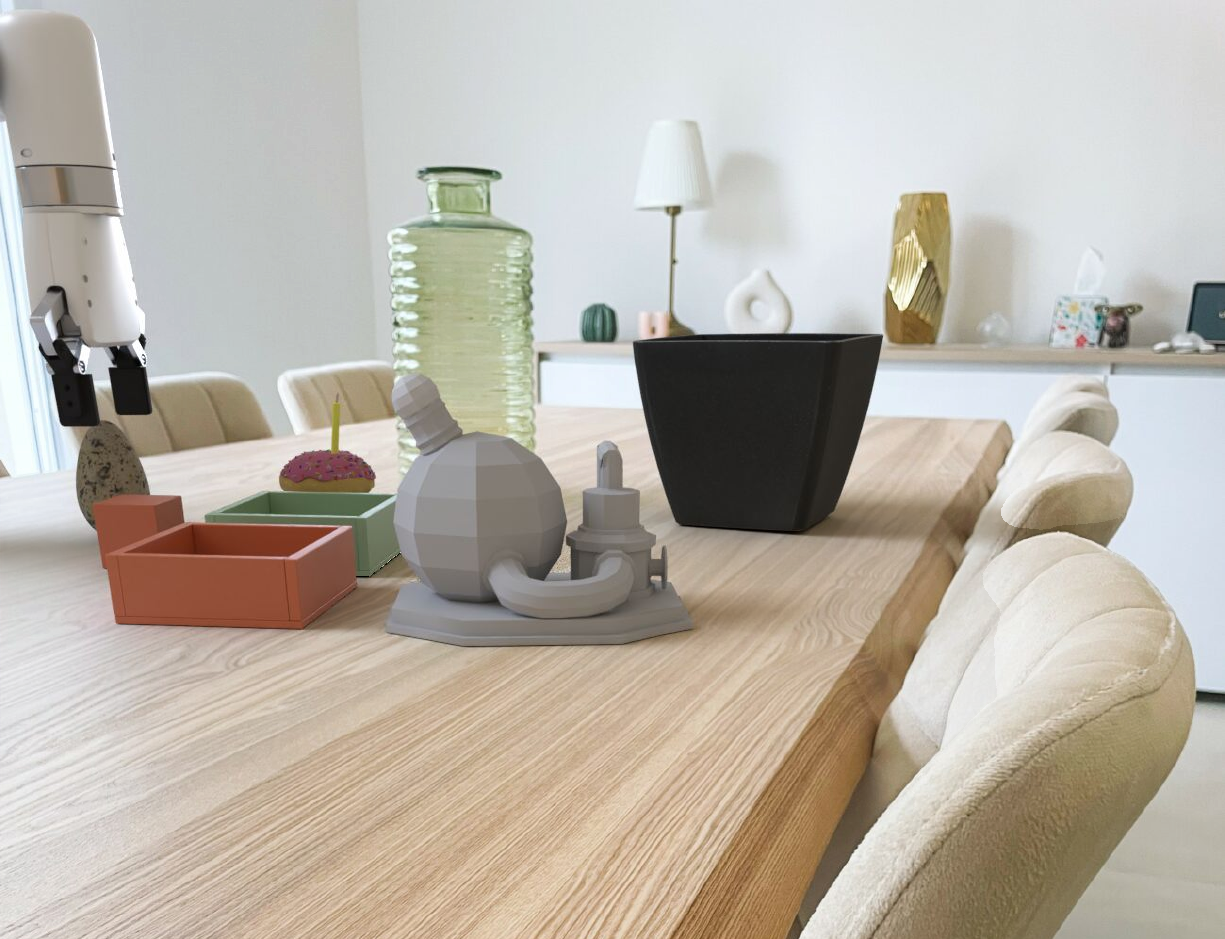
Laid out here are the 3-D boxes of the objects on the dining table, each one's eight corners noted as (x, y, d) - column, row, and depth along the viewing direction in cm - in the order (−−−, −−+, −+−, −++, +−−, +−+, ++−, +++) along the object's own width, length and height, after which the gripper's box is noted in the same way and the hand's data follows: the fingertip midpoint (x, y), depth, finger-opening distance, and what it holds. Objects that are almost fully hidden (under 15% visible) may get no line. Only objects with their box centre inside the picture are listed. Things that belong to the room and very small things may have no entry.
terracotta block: (102, 568, 96) (92, 503, 94) (130, 556, 101) (121, 494, 99) (163, 569, 96) (154, 505, 94) (189, 557, 101) (181, 495, 99)
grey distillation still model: (377, 647, 75) (358, 381, 69) (401, 591, 89) (387, 367, 83) (700, 643, 76) (709, 382, 70) (673, 589, 90) (679, 368, 84)
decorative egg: (136, 530, 112) (120, 415, 108) (168, 538, 108) (152, 420, 104) (72, 538, 108) (53, 420, 104) (102, 547, 104) (83, 425, 100)
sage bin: (211, 573, 95) (203, 514, 93) (268, 543, 106) (262, 490, 105) (370, 577, 94) (365, 518, 92) (410, 546, 105) (406, 493, 104)
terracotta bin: (115, 623, 80) (104, 554, 78) (193, 582, 92) (185, 522, 90) (302, 629, 79) (295, 559, 77) (357, 587, 91) (352, 525, 89)
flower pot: (626, 528, 114) (628, 335, 108) (693, 500, 131) (698, 330, 124) (825, 544, 108) (840, 339, 101) (870, 512, 124) (885, 333, 117)
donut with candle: (397, 526, 115) (389, 391, 110) (335, 540, 108) (323, 397, 103) (328, 518, 119) (317, 387, 114) (264, 531, 112) (249, 393, 107)
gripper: (79, 204, 106) (113, 411, 113) (-37, 189, 90) (12, 431, 97) (162, 202, 105) (192, 410, 112) (61, 187, 89) (103, 431, 96)
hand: (108, 420), depth 104 cm, fingers open, 9 cm apart
